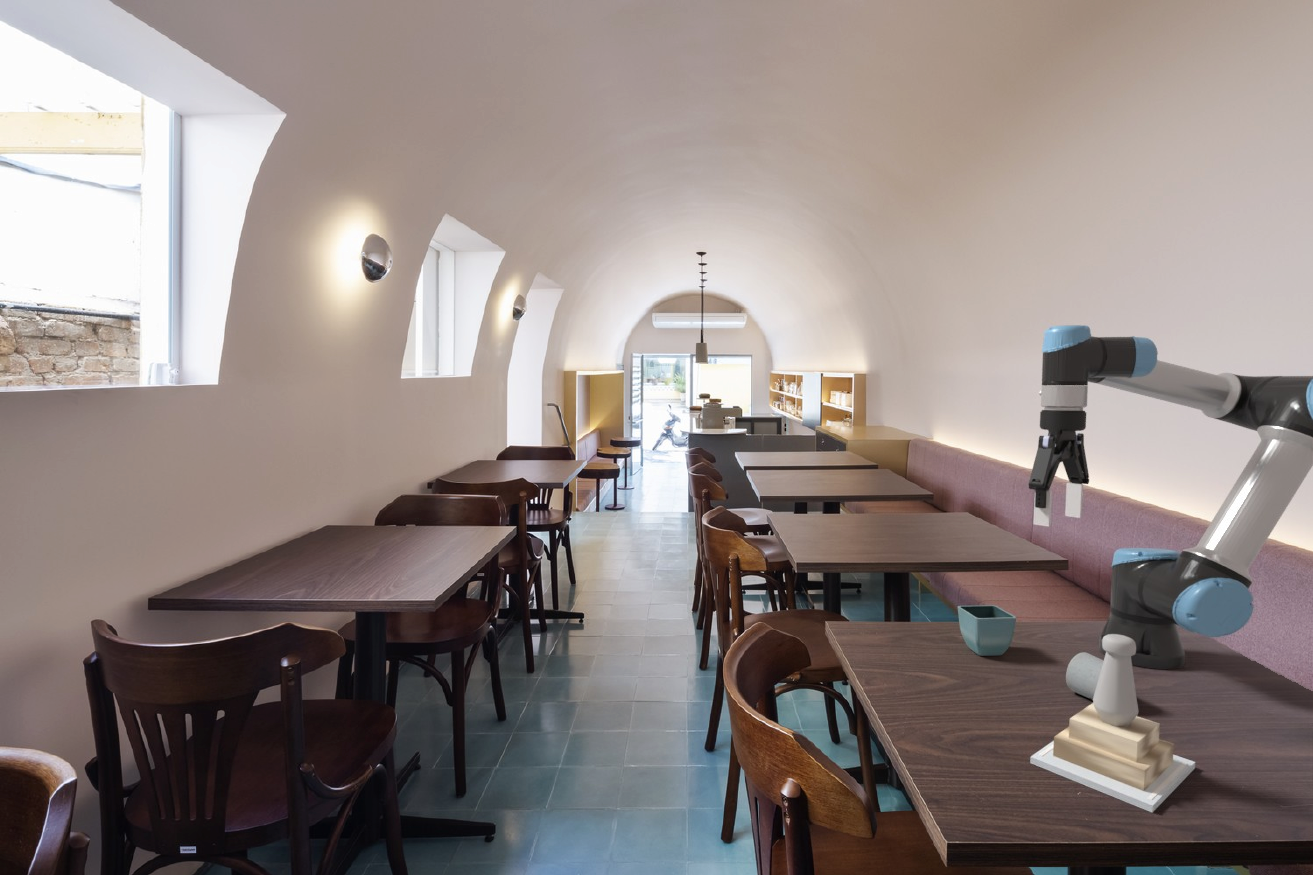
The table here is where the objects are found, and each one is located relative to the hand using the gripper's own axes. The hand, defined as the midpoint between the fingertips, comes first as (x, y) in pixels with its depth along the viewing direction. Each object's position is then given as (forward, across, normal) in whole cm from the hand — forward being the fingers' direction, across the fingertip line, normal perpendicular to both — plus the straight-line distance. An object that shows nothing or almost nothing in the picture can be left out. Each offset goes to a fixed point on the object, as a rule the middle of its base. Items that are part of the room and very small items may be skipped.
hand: (1058, 521), depth 135 cm
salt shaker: (+25, +24, +19) cm, 39 cm away
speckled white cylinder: (+32, -1, +8) cm, 33 cm away
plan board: (+32, +24, +19) cm, 44 cm away
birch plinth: (+32, +24, +19) cm, 44 cm away
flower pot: (+32, -6, -16) cm, 36 cm away
